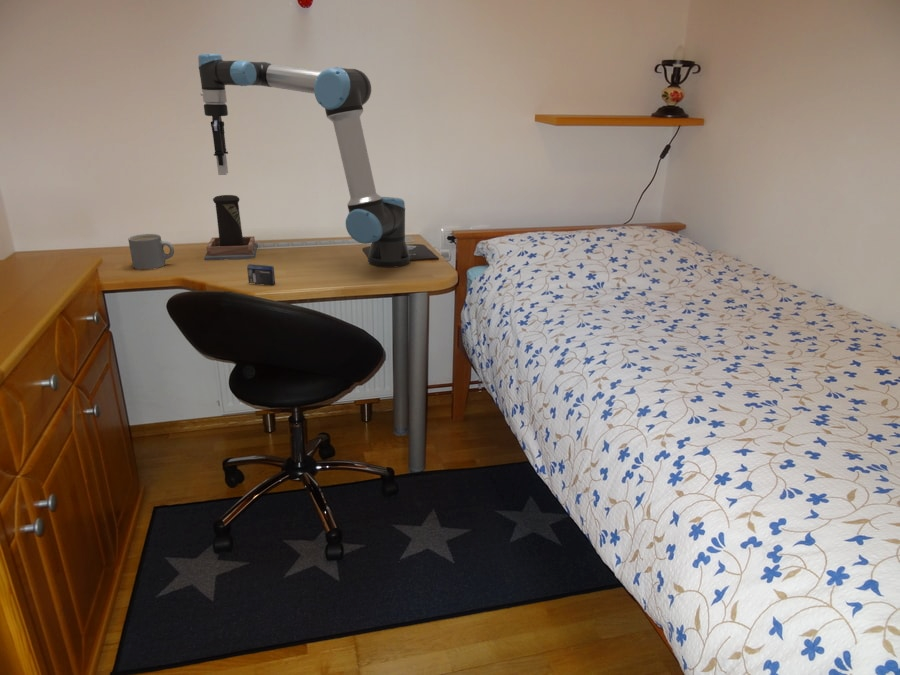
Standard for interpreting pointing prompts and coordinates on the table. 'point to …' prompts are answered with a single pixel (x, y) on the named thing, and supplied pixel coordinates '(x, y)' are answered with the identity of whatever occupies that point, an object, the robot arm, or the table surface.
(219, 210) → the container
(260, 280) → the mini dv tape
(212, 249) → the collar plate
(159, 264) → the coffee mug
